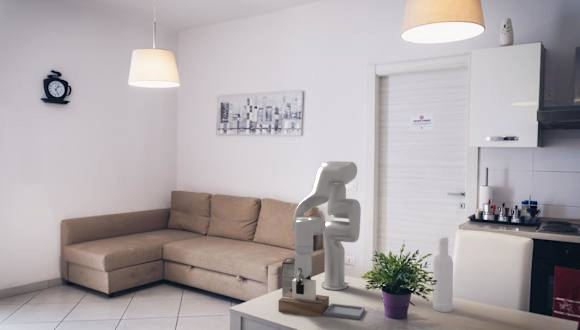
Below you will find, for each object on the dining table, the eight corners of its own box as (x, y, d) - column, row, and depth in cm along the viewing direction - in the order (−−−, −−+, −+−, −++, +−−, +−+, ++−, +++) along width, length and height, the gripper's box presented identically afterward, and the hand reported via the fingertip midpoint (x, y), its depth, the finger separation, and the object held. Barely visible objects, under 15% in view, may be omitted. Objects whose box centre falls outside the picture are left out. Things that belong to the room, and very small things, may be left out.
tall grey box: (286, 292, 221) (286, 257, 220) (299, 292, 220) (299, 258, 219) (281, 298, 212) (281, 262, 211) (296, 299, 211) (296, 263, 210)
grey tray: (331, 306, 201) (331, 303, 201) (364, 310, 196) (364, 307, 196) (324, 315, 190) (324, 311, 190) (359, 319, 186) (359, 315, 186)
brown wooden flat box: (288, 302, 207) (288, 290, 206) (328, 306, 200) (328, 295, 200) (278, 311, 195) (278, 299, 195) (321, 316, 189) (321, 303, 189)
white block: (295, 306, 201) (295, 278, 201) (315, 308, 198) (315, 280, 198) (292, 309, 197) (292, 280, 197) (313, 311, 194) (313, 282, 194)
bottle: (455, 312, 194) (456, 239, 192) (436, 312, 194) (437, 239, 192) (448, 305, 202) (449, 235, 200) (430, 306, 202) (431, 235, 200)
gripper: (301, 244, 206) (301, 284, 207) (288, 252, 190) (288, 295, 190) (318, 246, 204) (318, 286, 204) (306, 254, 187) (306, 297, 188)
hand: (303, 290), depth 197 cm, fingers open, 9 cm apart
